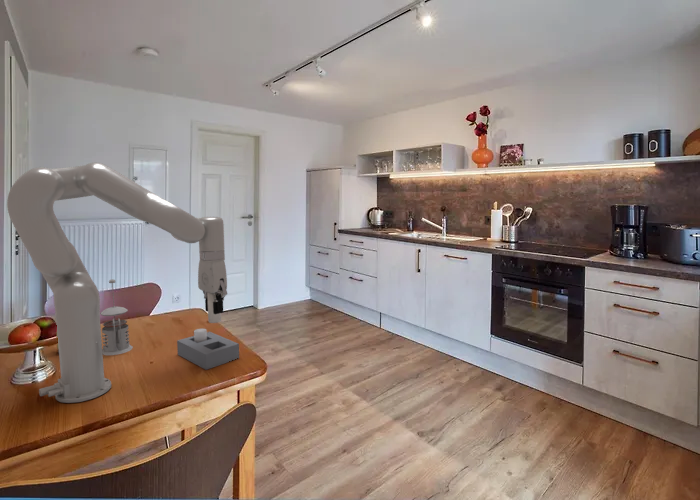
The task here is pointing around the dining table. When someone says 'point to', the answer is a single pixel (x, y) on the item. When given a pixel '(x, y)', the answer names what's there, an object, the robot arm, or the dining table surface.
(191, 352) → the socket block
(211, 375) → the dining table surface
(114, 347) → the french press
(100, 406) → the dining table surface
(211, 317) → the peg
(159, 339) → the dining table surface
